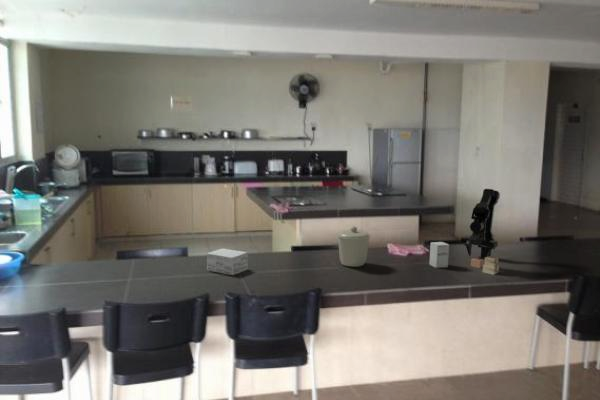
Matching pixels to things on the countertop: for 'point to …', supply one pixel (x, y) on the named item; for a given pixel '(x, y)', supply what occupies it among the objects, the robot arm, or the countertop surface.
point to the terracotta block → (477, 262)
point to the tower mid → (491, 261)
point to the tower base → (490, 269)
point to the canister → (353, 247)
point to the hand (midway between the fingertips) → (477, 257)
